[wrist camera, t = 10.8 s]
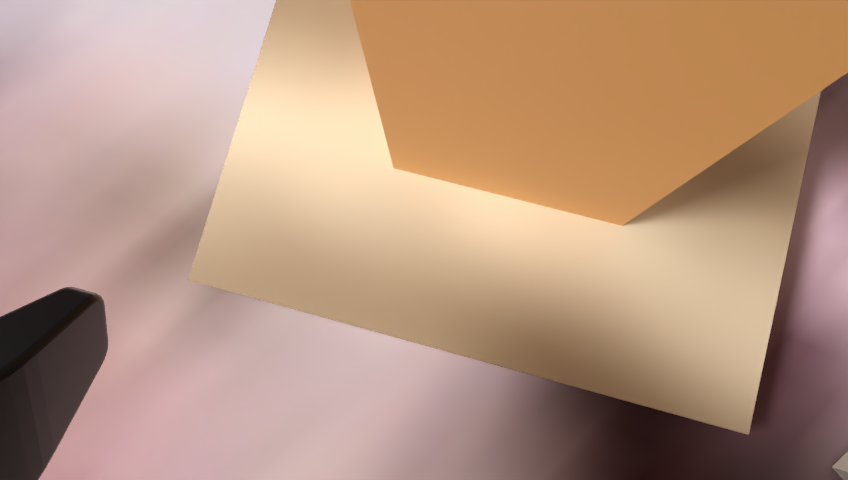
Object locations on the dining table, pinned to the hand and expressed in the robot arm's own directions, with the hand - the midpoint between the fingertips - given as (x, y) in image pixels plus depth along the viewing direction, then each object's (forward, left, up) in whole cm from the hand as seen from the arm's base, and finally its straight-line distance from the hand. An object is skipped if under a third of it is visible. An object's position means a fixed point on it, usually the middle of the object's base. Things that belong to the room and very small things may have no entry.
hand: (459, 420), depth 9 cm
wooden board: (+4, +6, -8) cm, 10 cm away
